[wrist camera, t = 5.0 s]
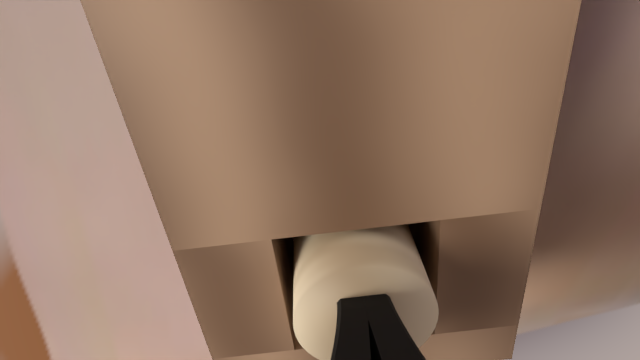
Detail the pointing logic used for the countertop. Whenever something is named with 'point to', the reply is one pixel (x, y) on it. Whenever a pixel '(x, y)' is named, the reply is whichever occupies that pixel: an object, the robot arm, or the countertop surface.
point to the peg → (358, 282)
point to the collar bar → (342, 147)
